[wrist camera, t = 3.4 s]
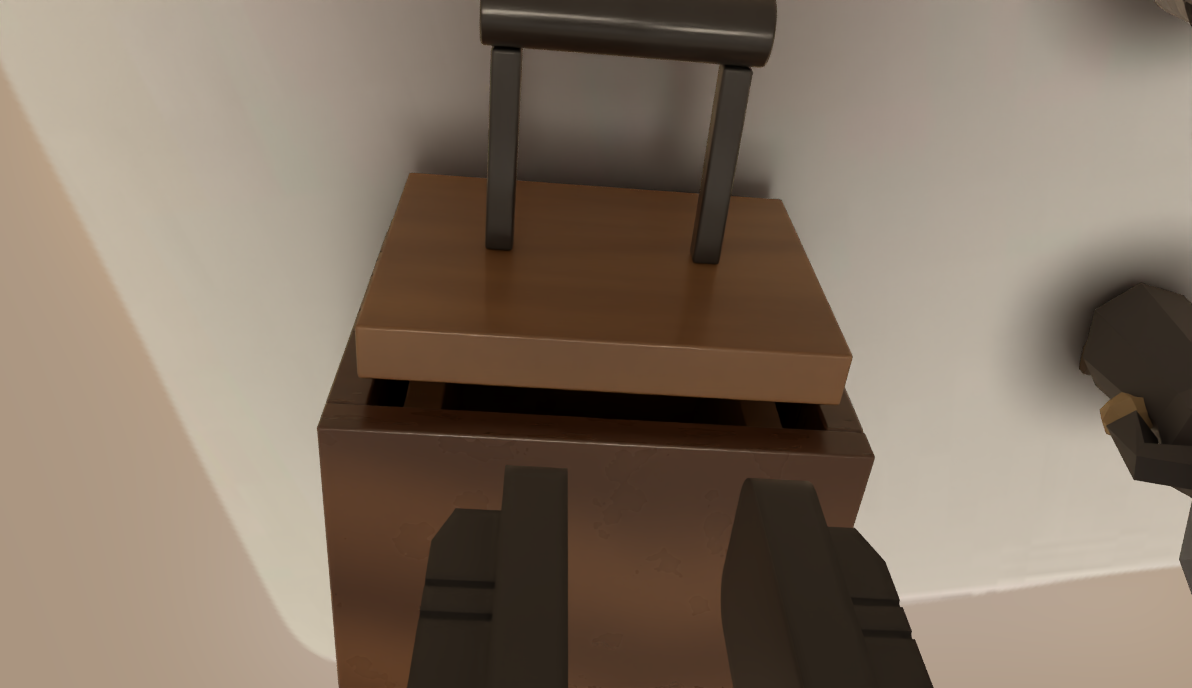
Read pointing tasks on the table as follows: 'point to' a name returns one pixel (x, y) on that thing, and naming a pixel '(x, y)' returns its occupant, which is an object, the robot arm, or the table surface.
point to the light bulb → (1177, 8)
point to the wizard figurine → (1147, 387)
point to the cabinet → (595, 520)
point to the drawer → (604, 256)
